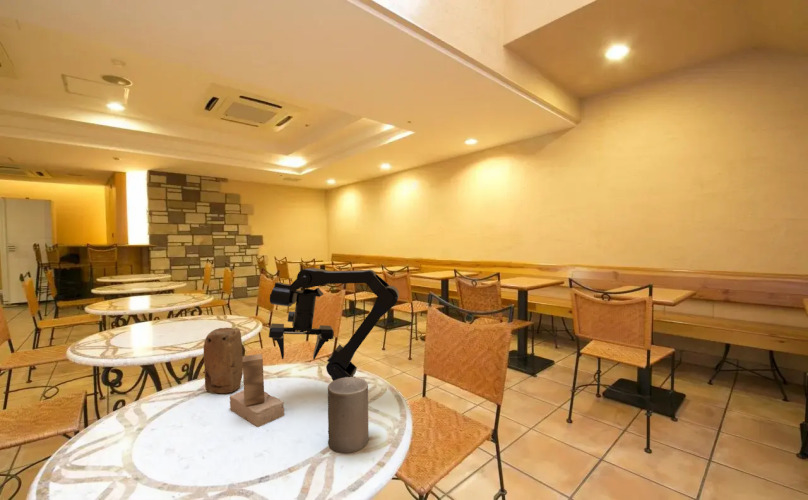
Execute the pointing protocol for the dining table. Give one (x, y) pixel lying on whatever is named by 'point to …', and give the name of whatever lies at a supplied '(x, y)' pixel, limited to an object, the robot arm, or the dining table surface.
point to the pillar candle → (348, 414)
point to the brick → (257, 409)
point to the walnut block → (253, 379)
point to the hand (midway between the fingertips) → (298, 358)
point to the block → (223, 360)
